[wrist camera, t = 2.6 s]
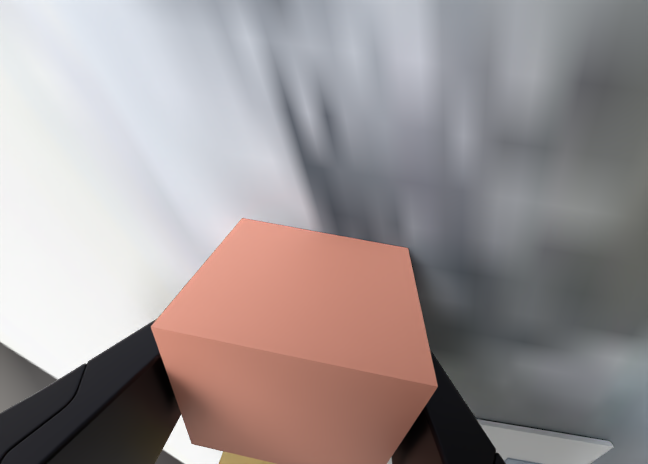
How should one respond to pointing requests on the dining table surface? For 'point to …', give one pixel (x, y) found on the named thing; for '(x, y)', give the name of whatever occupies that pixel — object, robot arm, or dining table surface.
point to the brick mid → (298, 347)
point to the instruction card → (541, 445)
